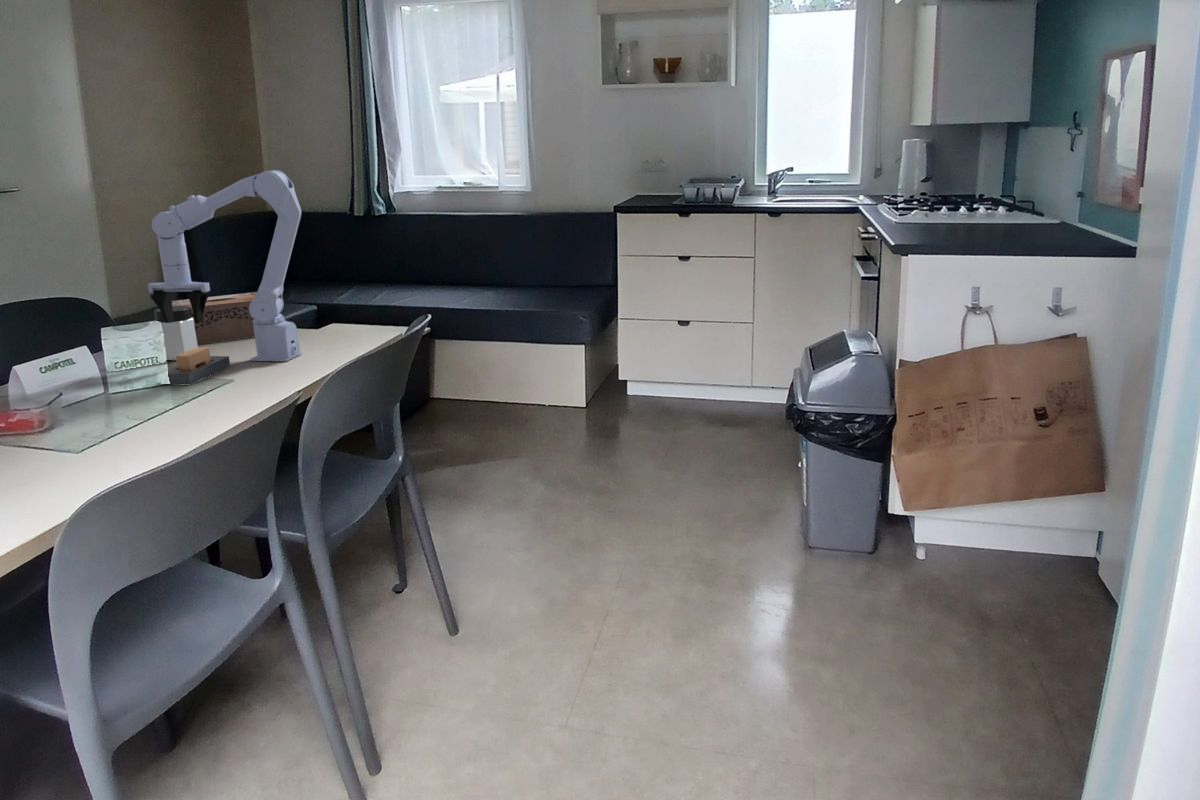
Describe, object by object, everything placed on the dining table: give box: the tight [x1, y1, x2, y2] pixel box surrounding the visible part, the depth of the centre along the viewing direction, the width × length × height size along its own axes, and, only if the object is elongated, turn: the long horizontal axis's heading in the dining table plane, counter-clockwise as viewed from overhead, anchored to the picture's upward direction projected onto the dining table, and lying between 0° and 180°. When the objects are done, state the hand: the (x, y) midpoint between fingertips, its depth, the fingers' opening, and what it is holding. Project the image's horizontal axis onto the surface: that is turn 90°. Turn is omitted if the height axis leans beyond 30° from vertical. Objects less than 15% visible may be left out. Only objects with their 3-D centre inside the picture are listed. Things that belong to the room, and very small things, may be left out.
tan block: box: [175, 347, 211, 370], centre depth 205 cm, size 8×3×6 cm, turn 171°
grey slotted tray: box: [167, 355, 231, 385], centre depth 206 cm, size 16×7×2 cm, turn 170°
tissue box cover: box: [172, 291, 258, 345], centre depth 247 cm, size 26×14×10 cm, turn 120°
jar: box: [153, 306, 199, 361], centre depth 223 cm, size 9×8×12 cm
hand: (184, 322), depth 215 cm, fingers open, 7 cm apart
